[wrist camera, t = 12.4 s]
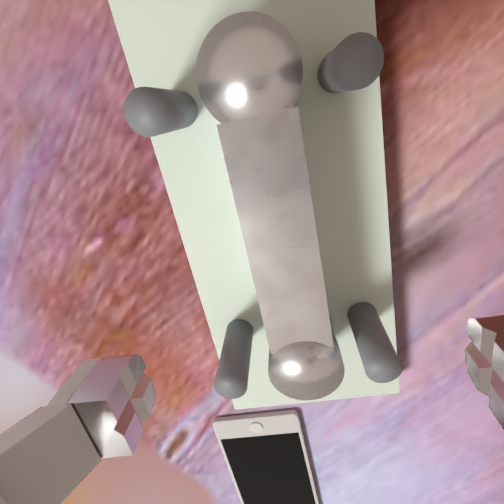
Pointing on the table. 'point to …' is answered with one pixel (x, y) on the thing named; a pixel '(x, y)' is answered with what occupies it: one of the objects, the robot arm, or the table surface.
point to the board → (319, 171)
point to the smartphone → (267, 457)
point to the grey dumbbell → (272, 194)
